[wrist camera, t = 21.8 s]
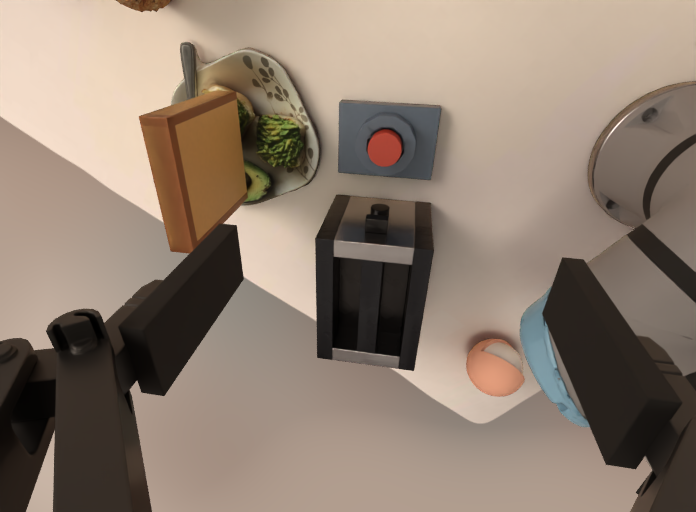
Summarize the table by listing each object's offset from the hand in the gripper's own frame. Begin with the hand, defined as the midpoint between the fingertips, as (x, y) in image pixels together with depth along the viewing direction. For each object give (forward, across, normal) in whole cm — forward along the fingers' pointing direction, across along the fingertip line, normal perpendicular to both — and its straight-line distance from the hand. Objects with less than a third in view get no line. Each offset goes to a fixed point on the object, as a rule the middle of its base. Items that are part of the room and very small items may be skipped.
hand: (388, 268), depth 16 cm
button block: (+33, +2, +3) cm, 33 cm away
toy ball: (+33, -16, +33) cm, 49 cm away
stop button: (+30, +2, +3) cm, 30 cm away
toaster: (+33, +2, +19) cm, 38 cm away
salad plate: (+33, +19, +4) cm, 38 cm away
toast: (+28, +19, +4) cm, 34 cm away
